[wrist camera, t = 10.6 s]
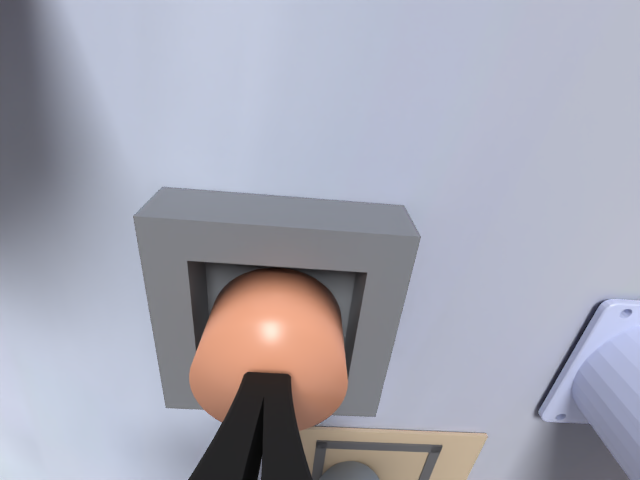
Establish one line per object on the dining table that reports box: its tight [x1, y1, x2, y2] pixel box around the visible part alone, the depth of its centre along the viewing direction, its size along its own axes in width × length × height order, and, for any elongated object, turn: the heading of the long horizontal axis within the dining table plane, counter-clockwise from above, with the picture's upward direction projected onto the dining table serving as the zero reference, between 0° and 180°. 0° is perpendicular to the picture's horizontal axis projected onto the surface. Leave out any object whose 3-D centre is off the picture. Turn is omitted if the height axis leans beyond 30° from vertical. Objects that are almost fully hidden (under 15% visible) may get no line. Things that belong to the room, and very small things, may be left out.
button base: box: [133, 187, 421, 417], centre depth 15 cm, size 9×9×2 cm
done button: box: [189, 268, 348, 431], centre depth 13 cm, size 5×5×3 cm
